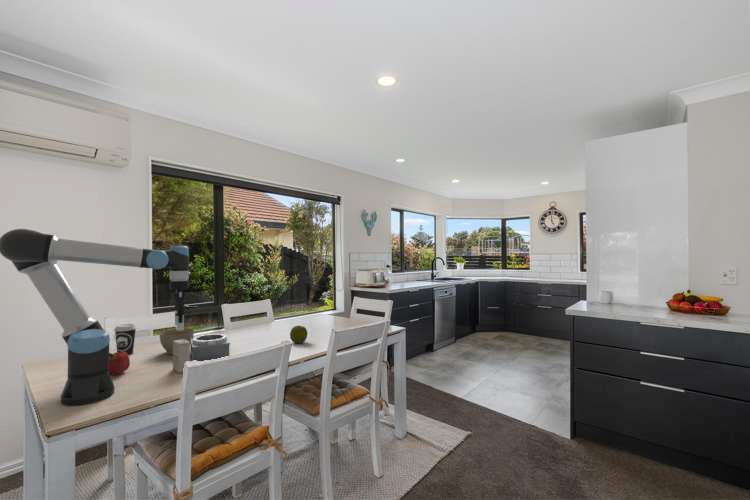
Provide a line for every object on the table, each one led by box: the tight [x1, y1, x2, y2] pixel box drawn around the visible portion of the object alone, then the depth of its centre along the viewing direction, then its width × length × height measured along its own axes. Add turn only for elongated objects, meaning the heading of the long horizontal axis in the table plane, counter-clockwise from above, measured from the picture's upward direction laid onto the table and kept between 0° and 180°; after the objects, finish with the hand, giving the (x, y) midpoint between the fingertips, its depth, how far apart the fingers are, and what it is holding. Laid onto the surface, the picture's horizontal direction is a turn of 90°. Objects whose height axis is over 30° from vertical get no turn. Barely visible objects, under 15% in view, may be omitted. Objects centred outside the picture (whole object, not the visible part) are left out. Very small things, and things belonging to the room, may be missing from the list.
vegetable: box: [109, 351, 131, 376], centre depth 150 cm, size 11×10×10 cm
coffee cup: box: [113, 323, 137, 356], centre depth 179 cm, size 10×10×15 cm
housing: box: [190, 333, 231, 361], centre depth 176 cm, size 21×17×10 cm
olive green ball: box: [289, 325, 308, 344], centre depth 204 cm, size 10×10×11 cm
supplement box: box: [172, 339, 191, 374], centre depth 155 cm, size 8×5×13 cm, turn 47°
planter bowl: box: [158, 327, 195, 355], centre depth 184 cm, size 16×16×11 cm
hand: (179, 327), depth 156 cm, fingers open, 13 cm apart
